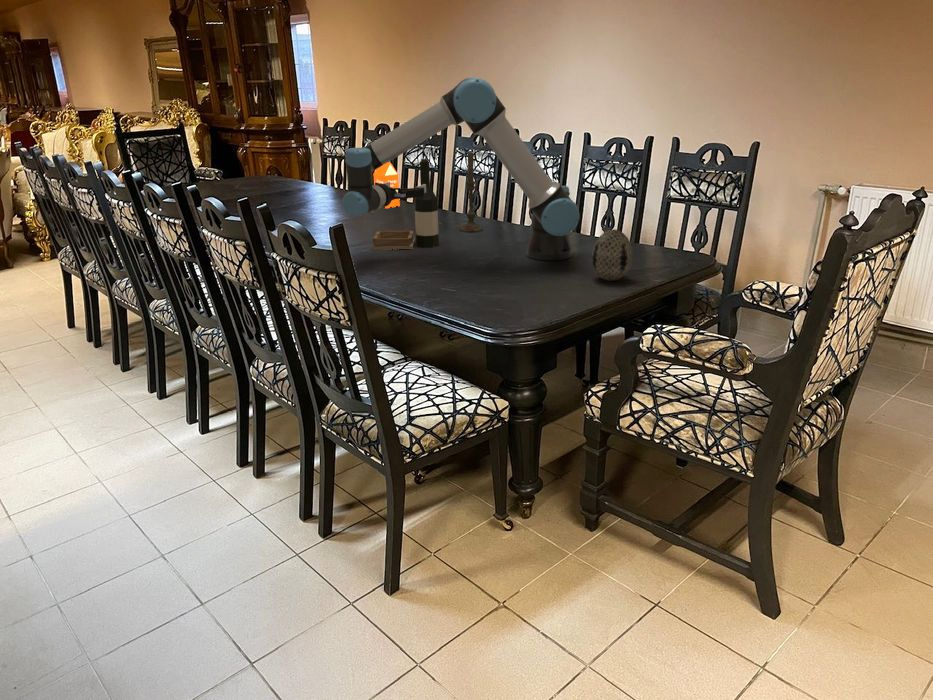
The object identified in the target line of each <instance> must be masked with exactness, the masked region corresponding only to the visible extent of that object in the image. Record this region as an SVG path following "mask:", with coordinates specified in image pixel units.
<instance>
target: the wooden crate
mask: <svg viewBox="0 0 933 700" xmlns="http://www.w3.org/2000/svg"><path fill="white" fill-rule="evenodd" d="M414 233H415V232H414V231H413V230H378V231H376V232H375V234H374V236H373V238H372V243H373V244H372V245H371V251H400V250H399V249H412V250H413V248H414V245H415V242H416V236H414V235H415V234H414ZM414 241H415V242H414ZM392 249H393V250H392ZM397 249H398V250H397Z"/></svg>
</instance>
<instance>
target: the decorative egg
mask: <svg viewBox="0 0 933 700" xmlns="http://www.w3.org/2000/svg"><path fill="white" fill-rule="evenodd" d="M633 257H634V256H633V248H632V245H631V242H630V240H629V238H628V237H627V236H626V234H625V233H624V232H622V231H621V230H618V229H609V230H606V231H604V232H603V233H602V234H601V235H599V237H598V238H597V239H596V241H595V243H594V246H593V248H592V252H591V265H592V269H593V271H594V273H595V274H596V276H598V277H599V278H600V279H602V280H604V281H608V282H613V281H618V280H620V279H622V278H624V276H626V275H627V274H628V272H629V271H630V269H631V266H632V263H633Z"/></svg>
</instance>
